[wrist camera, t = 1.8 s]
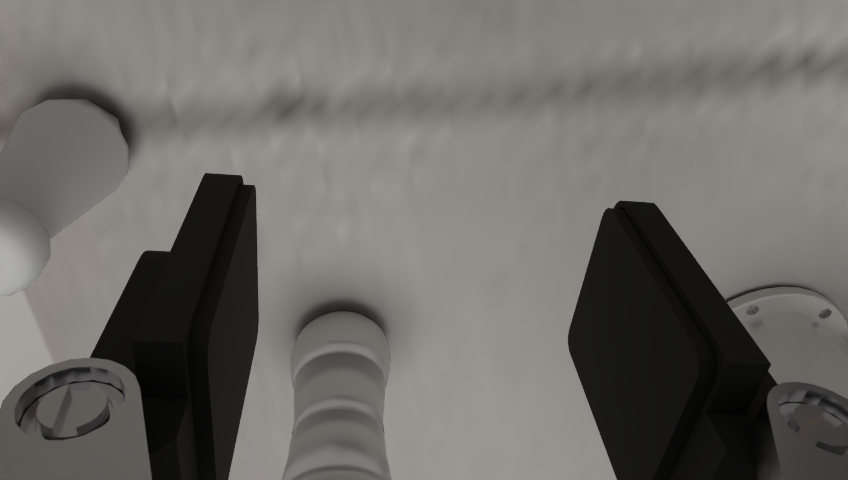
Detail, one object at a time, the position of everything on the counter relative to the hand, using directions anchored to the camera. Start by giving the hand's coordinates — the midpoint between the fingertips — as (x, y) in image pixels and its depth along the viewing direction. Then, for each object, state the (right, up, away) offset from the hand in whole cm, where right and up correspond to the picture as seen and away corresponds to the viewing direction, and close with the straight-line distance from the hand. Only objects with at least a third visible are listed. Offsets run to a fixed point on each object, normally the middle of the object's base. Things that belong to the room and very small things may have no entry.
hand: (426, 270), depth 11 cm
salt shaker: (-19, +7, +27) cm, 34 cm away
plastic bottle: (-6, -6, +36) cm, 37 cm away
